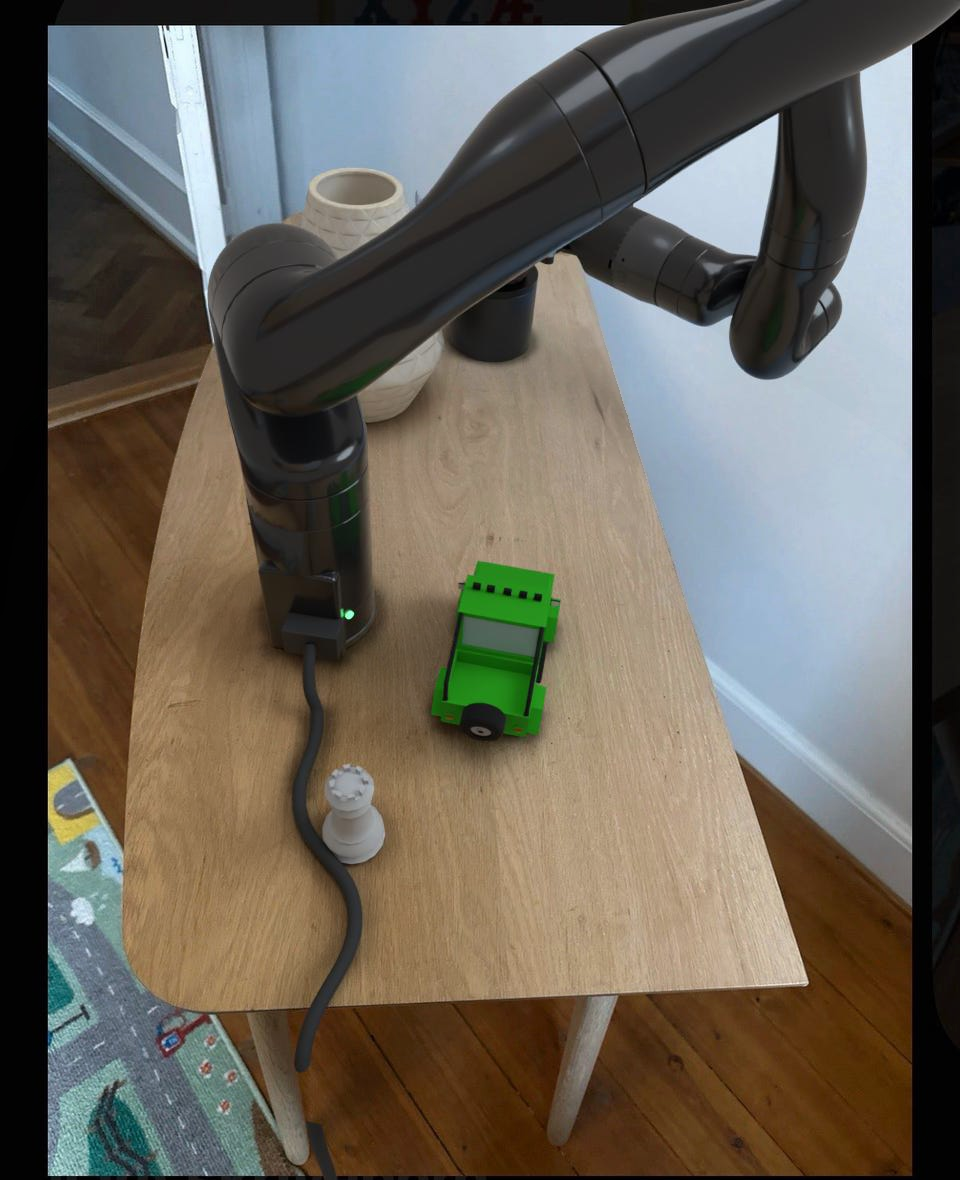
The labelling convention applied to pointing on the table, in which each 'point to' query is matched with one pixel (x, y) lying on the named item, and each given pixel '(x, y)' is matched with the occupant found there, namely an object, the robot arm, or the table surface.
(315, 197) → the vase
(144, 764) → the table surface
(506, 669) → the toy car
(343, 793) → the rook chess piece
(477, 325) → the canister
